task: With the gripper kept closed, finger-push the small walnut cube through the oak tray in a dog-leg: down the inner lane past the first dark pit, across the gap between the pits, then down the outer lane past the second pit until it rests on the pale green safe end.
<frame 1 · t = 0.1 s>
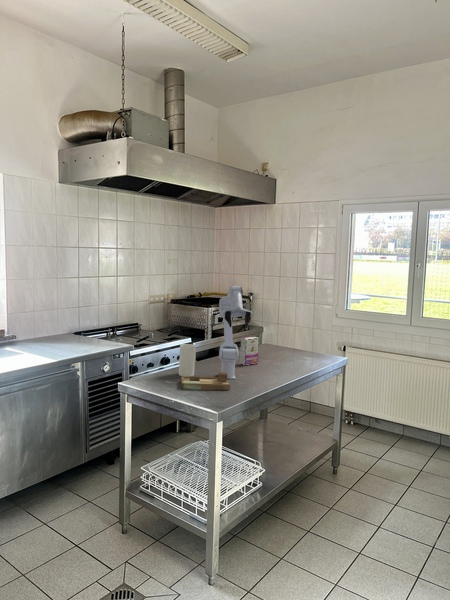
hand: (238, 326, 208), 32 cm above the table, tool tilted 50°, fingers open, 7 cm apart
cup: (186, 374, 239), on the table
candy bar box: (248, 364, 271), on the table
trap tray: (204, 385, 219), on the table
walnut cube: (222, 380, 223), point 2 cm above the table, touching trap tray
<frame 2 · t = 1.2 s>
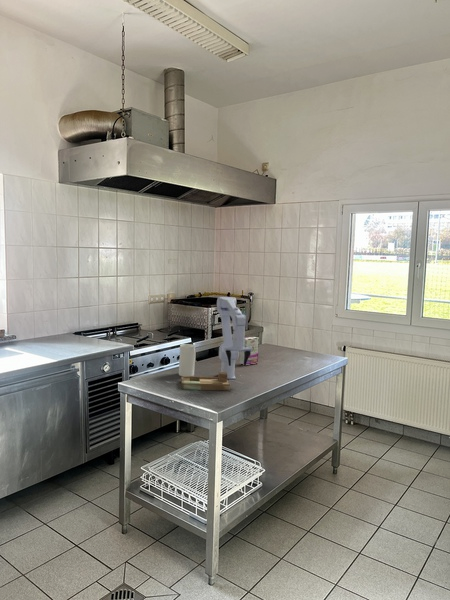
hand: (237, 365, 223), 10 cm above the table, tool pointing down, fingers open, 7 cm apart
nothing on the table moved.
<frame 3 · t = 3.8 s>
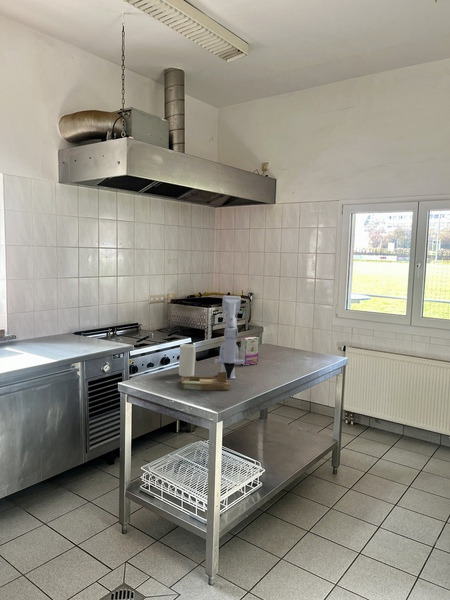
hand: (228, 377, 223), 4 cm above the table, tool pointing down, fingers closed
walnut cube: (221, 380, 223), point 2 cm above the table, touching gripper
everything else where it was.
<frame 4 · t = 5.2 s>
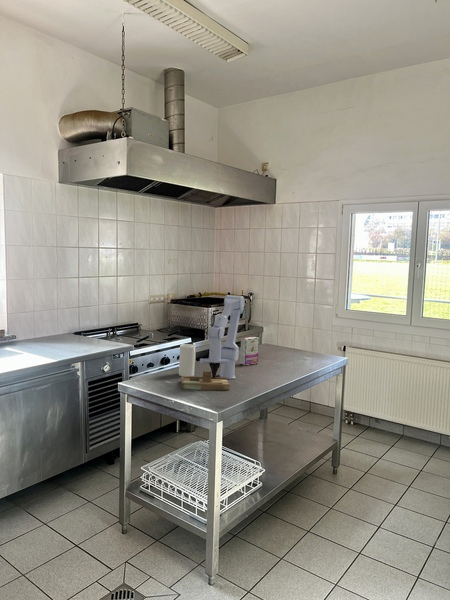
hand: (213, 377, 222), 4 cm above the table, tool pointing down, fingers closed
walnut cube: (206, 380, 222), point 2 cm above the table, touching gripper, trap tray
everything else where it was.
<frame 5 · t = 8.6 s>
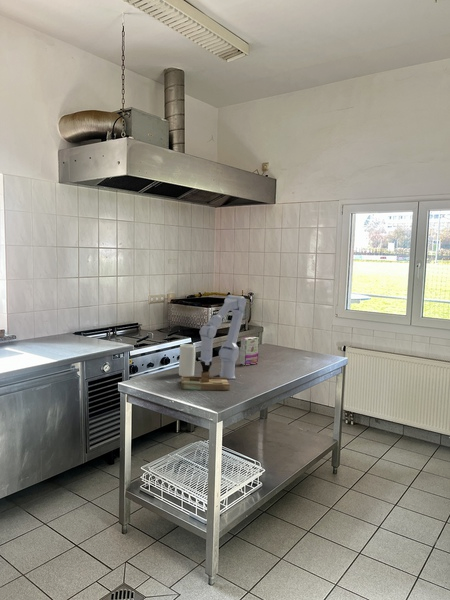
hand: (205, 375, 225), 4 cm above the table, tool pointing down, fingers closed
walnut cube: (205, 380, 221), point 2 cm above the table, touching gripper
everything else where it was.
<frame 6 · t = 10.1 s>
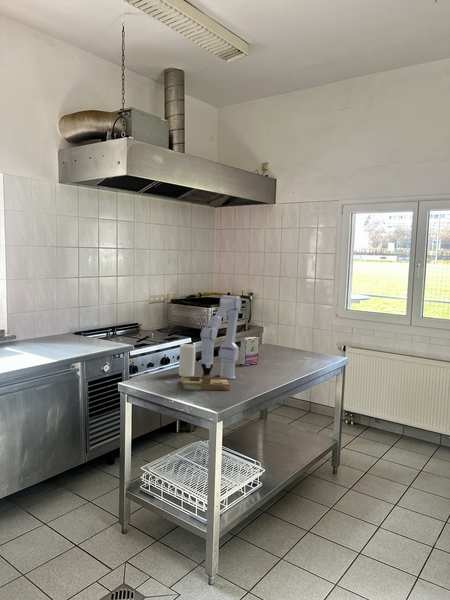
hand: (206, 378, 219), 4 cm above the table, tool pointing down, fingers closed
walnut cube: (206, 383, 216), point 2 cm above the table, touching gripper, trap tray
everything else where it was.
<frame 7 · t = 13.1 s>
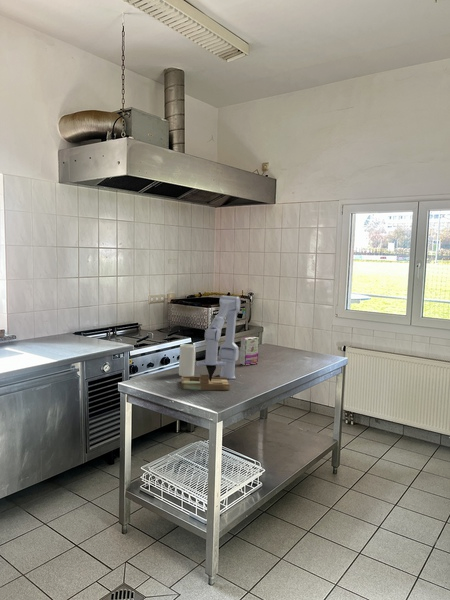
hand: (210, 380, 216), 4 cm above the table, tool pointing down, fingers closed, pressing on walnut cube
walnut cube: (204, 383, 216), point 2 cm above the table, touching gripper, trap tray
everything else where it was.
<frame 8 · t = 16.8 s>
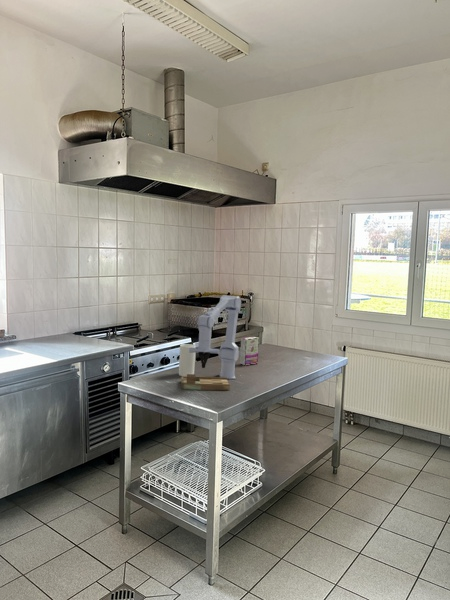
hand: (203, 367, 215), 10 cm above the table, tool pointing down, fingers closed
walnut cube: (190, 383, 215), point 2 cm above the table, touching trap tray
everything else where it was.
at the end: walnut cube inside the target area (0.8 cm from its centre), point 2.0 cm above the table; walnut cube tilted 0° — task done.
